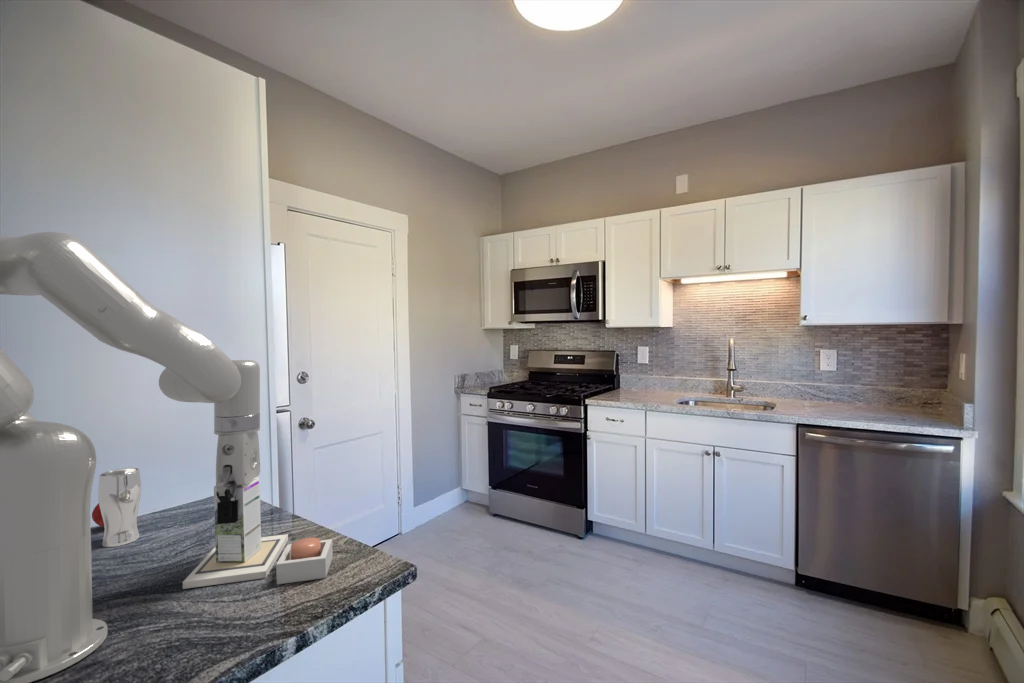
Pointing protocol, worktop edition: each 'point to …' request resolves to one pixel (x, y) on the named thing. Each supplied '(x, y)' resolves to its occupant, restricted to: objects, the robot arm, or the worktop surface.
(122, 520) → the beer glass
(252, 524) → the syrup box
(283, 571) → the button housing
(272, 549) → the picture board
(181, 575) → the worktop surface
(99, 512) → the onion
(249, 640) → the worktop surface
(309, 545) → the button
